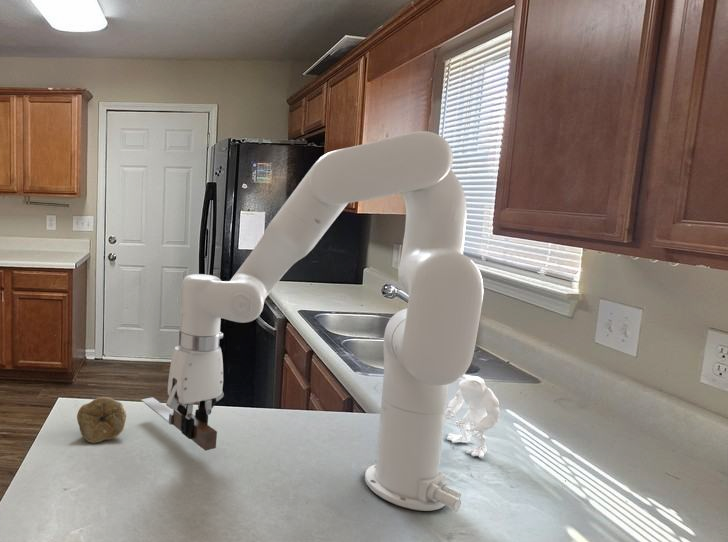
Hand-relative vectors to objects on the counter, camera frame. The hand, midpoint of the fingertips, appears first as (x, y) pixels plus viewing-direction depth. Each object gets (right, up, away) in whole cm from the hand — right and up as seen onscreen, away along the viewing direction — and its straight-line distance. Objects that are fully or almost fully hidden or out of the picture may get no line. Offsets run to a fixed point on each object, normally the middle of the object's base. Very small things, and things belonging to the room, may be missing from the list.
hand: (193, 433), depth 95 cm
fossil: (-18, -3, +6) cm, 20 cm away
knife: (-3, 0, +5) cm, 6 cm away
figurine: (+57, -5, +6) cm, 57 cm away
